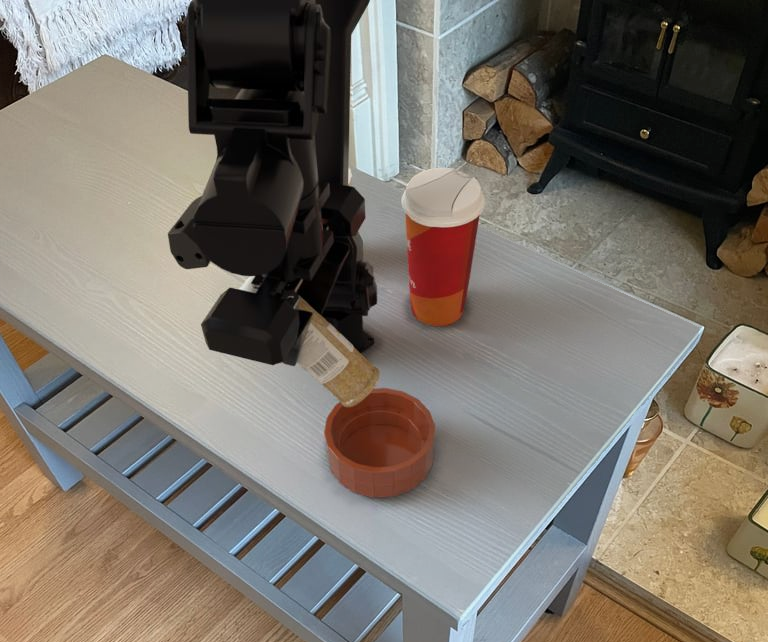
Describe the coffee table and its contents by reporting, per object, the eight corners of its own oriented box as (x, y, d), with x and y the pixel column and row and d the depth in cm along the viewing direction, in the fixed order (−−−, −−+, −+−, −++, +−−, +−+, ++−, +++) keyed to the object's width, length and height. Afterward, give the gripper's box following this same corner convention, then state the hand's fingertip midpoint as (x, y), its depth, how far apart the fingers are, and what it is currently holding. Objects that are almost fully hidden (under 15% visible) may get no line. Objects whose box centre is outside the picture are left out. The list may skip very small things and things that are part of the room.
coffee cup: (430, 274, 94) (435, 154, 82) (488, 304, 91) (502, 184, 78) (385, 312, 90) (383, 193, 78) (444, 344, 87) (451, 225, 75)
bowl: (455, 458, 78) (457, 428, 75) (378, 520, 74) (377, 491, 71) (382, 403, 83) (381, 371, 79) (306, 458, 79) (301, 428, 75)
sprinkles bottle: (387, 362, 71) (274, 252, 65) (374, 397, 68) (255, 284, 62) (352, 383, 74) (242, 279, 68) (338, 417, 71) (222, 312, 65)
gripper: (230, 95, 63) (259, 260, 76) (109, 239, 53) (166, 400, 66) (364, 119, 61) (370, 284, 74) (263, 273, 51) (291, 433, 64)
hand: (300, 345), depth 69 cm, fingers closed on sprinkles bottle, 4 cm apart
